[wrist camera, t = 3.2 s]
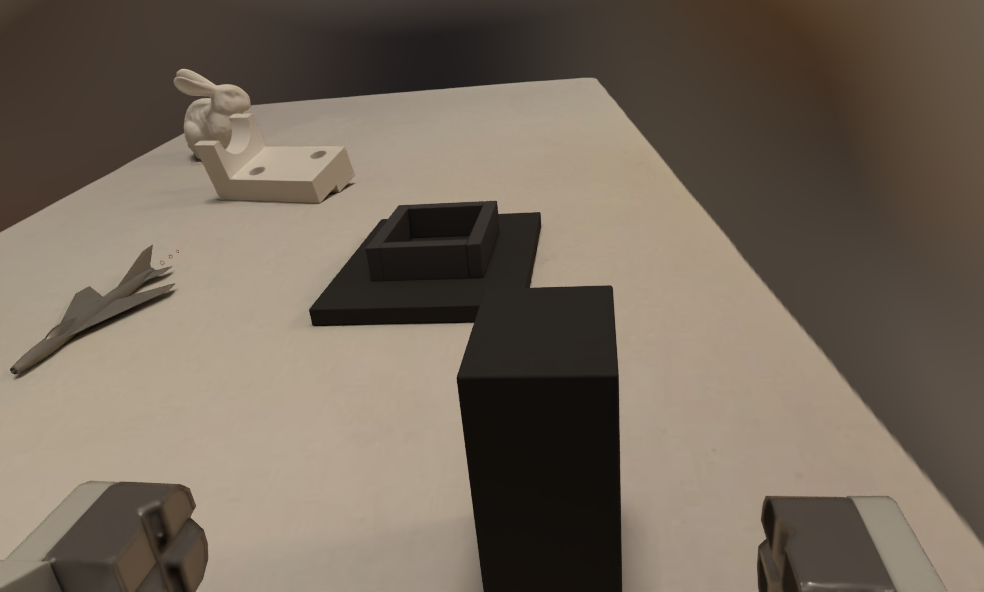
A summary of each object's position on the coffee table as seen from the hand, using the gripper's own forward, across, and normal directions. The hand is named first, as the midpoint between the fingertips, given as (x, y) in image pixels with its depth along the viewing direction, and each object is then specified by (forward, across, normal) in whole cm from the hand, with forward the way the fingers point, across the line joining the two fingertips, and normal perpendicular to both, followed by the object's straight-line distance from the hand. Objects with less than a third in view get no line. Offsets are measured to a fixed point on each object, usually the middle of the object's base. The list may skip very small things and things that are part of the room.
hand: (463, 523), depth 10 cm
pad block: (+12, 0, +13) cm, 18 cm away
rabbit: (+84, +48, +13) cm, 98 cm away
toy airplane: (+36, +34, +14) cm, 51 cm away
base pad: (+41, +10, +13) cm, 44 cm away
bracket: (+64, +32, +13) cm, 73 cm away
